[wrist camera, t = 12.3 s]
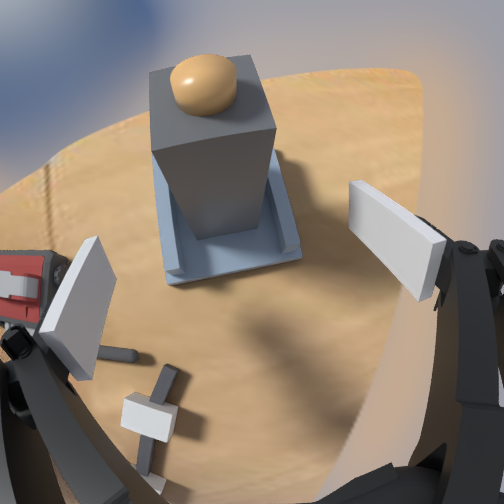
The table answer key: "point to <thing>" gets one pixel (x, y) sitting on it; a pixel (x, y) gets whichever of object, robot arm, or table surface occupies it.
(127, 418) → the cable run
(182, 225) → the tray
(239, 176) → the grey post with ball
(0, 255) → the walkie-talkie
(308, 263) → the table surface
